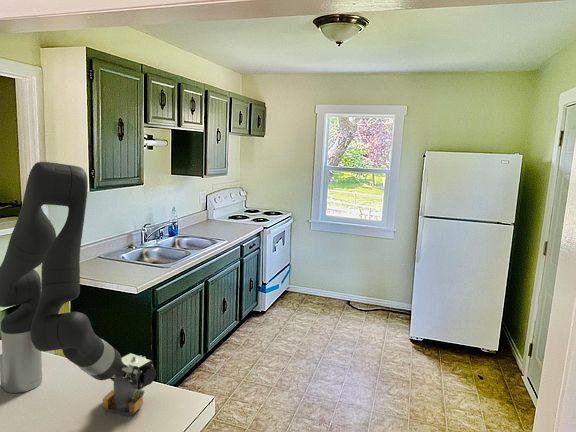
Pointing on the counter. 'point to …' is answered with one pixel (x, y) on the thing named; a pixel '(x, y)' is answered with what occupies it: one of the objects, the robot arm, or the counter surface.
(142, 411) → the counter surface
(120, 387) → the bottle
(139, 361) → the pneumatic valve
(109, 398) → the clip bracket
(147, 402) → the counter surface
